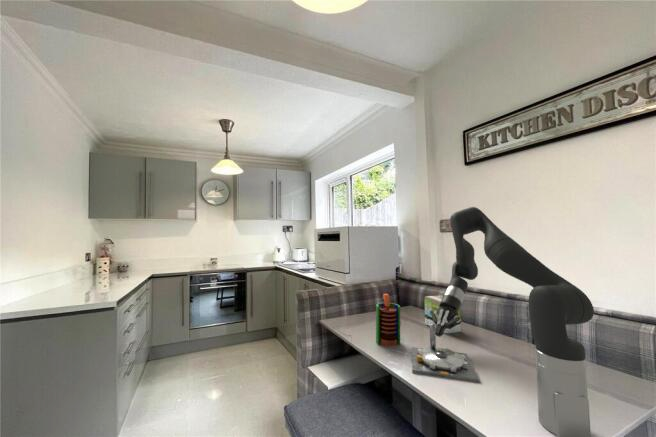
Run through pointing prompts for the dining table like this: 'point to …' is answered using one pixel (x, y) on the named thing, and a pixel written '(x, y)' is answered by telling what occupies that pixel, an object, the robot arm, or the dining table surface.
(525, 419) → the dining table surface
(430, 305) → the tea box
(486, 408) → the dining table surface
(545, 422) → the robot arm
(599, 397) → the dining table surface
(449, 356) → the sprocket
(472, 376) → the base plate
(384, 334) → the motor
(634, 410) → the dining table surface
